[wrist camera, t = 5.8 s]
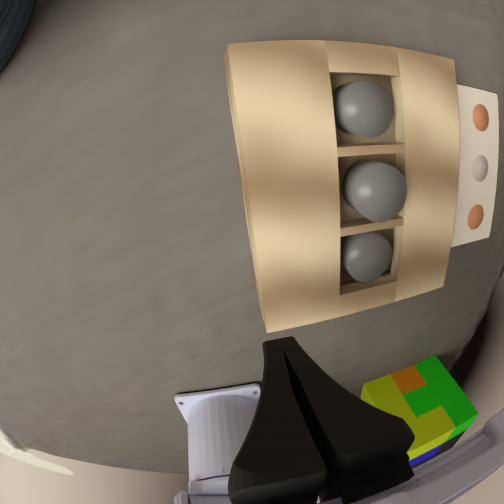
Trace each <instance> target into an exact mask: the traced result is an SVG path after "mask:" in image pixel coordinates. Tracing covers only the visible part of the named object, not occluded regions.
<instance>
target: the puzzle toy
mask: <svg viewBox="0 0 504 504" xmlns="http://www.w3.org/2000/svg"><path fill="white" fill-rule="evenodd" d="M360 399H362V400H363V401H365V402H367V403H369V404H370V405H372V406H374V407H376V408H378V409H380V410H383V411H385V412H387V413H390V414H392V415H395V416H398V417H400V418H403V419H404V420H405V422H406V423H407V424H408V425H409V427H410V428H411V430H412V431H413V433H414V435H415V439H414V442H413V444H412V445H411V447H410V448H409V450H408V451H407V454H408V456H409V458H410V460H409V461H408V462H409V464H410V466H411V468H412V469H413V468H415V467H417V466H419V465H421V464H423V463H425V462H427V461H429V460H431V459H433V458H435V457H437V456H438V455H440V454H442V453H444V452H446V451H447V450H449V449H451V448H452V447H453V446H454V444H455V443H456V442H457V441H458V439H459V438H460V437H461V436H462V434H463V433H464V432H465V431H466V429H467V428H468V427H469V425H470V424H471V423H472V421H473V420H474V419H475V417H476V416H477V414H478V412H477V411H476V409H475V408H474V406H473V405H472V404H471V402H470V401H469V399H468V398H467V397H466V395H465V394H464V393H463V391H462V390H461V388H460V387H459V386H458V384H457V383H456V382H455V380H454V379H453V378H452V377H451V375H450V374H449V373H448V371H447V370H446V369H445V367H444V366H443V365H442V363H441V362H440V361H439V360H438V358H437V357H436V356H433V357H431V358H429V359H426V360H424V361H422V362H419V363H417V364H415V365H412V366H410V367H407V368H405V369H402V370H400V371H397V372H394V373H392V374H389V375H386V376H384V377H381V378H378V379H375V380H372V381H369V382H367V383H364V384H363V389H362V393H361V398H360Z"/></svg>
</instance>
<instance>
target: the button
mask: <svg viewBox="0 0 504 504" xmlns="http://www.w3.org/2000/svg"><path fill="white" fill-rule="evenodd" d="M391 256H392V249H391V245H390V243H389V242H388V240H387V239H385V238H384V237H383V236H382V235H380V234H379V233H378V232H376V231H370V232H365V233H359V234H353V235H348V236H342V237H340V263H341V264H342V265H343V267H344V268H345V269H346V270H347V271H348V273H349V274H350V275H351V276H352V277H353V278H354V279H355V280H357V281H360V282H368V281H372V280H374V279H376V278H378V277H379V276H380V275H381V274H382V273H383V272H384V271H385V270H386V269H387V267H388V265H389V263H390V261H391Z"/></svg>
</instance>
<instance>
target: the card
mask: <svg viewBox="0 0 504 504" xmlns="http://www.w3.org/2000/svg"><path fill="white" fill-rule="evenodd" d="M457 95H458V110H459V176H458V191H457V203H456V213H455V221H454V229H453V236H452V243H451V247H454V246H458V245H462V244H466V243H469V242H473V241H477V240H481V239H484V238H488V237H489V235H490V229H491V223H492V217H493V210H494V202H495V194H496V184H497V171H498V150H499V120H498V99H497V94H494V93H491V92H487V91H483V90H479V89H475V88H471V87H467V86H462V85H458V84H457Z"/></svg>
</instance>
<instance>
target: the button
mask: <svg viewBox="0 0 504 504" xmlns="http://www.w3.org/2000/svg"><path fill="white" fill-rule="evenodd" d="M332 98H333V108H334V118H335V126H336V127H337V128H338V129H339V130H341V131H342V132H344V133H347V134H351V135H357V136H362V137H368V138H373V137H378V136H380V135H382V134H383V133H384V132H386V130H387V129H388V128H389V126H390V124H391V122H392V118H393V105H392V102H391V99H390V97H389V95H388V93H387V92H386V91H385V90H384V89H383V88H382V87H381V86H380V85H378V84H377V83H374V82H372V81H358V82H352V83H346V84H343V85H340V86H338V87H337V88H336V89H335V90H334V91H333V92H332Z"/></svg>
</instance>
